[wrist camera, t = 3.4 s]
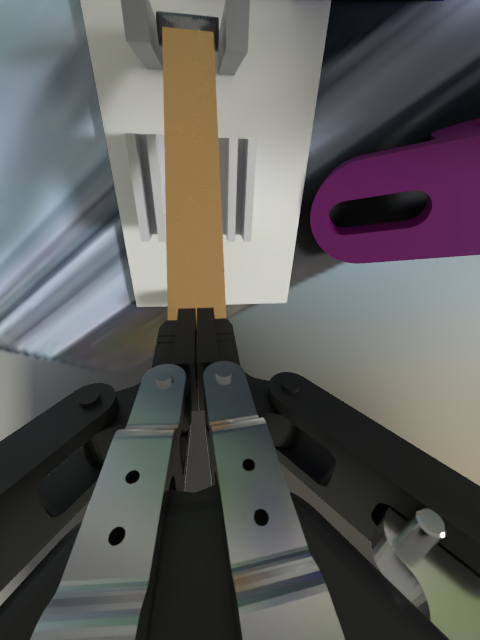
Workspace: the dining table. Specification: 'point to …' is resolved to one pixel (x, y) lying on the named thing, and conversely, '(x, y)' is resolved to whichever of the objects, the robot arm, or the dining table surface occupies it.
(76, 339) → the dining table surface
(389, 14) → the dining table surface
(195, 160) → the wooden strip
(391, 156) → the mounting bracket
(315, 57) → the board
